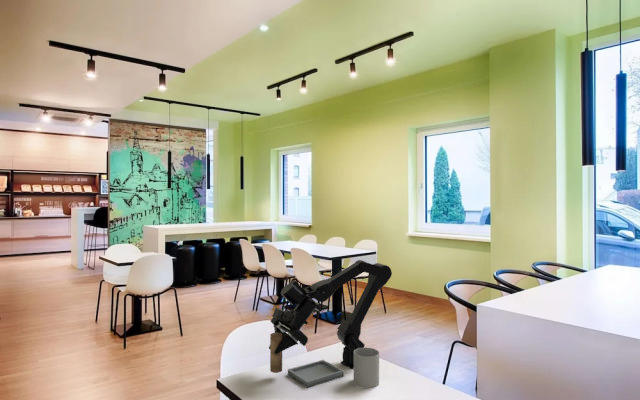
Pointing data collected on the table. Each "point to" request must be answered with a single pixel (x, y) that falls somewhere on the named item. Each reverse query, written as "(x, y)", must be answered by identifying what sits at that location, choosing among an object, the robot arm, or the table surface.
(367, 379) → the cup
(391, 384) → the table surface
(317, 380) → the tray
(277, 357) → the dowel
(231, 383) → the table surface
